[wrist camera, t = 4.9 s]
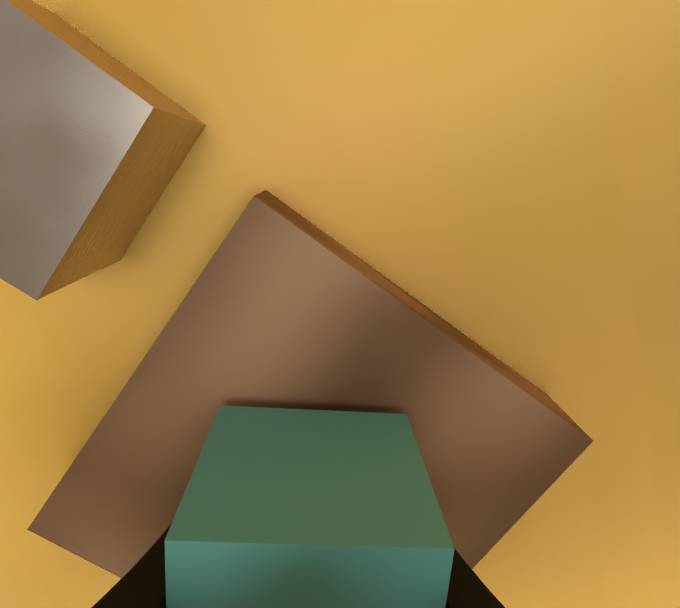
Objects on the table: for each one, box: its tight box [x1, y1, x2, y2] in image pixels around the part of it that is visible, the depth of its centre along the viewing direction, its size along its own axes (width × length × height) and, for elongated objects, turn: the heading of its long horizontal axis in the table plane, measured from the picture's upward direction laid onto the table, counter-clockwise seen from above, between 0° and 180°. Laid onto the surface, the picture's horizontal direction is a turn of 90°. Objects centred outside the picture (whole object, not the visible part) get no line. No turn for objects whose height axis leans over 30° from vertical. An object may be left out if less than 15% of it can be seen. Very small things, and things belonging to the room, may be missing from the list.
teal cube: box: [165, 406, 454, 608], centre depth 12 cm, size 5×5×5 cm
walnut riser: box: [27, 191, 593, 578], centre depth 16 cm, size 12×12×3 cm
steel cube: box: [0, 0, 206, 300], centre depth 13 cm, size 5×5×5 cm
